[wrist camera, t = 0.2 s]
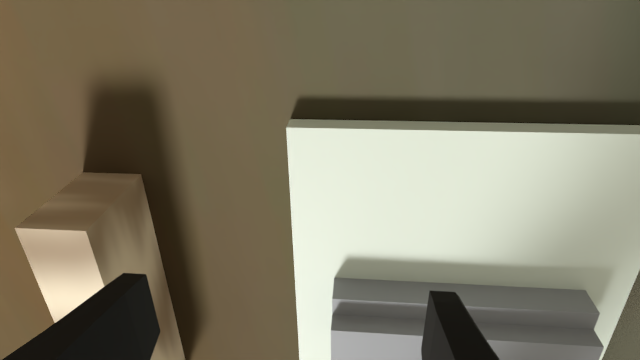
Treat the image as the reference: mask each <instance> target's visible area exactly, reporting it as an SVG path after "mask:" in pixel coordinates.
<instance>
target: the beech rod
mask: <svg viewBox="0 0 640 360" xmlns="http://www.w3.org/2000/svg"><path fill="white" fill-rule="evenodd" d="M15 230H16V232H17V235H18V237H19V239H20V242H21V244H22V246H23V249H24V251H25V254H26V256H27V258H28V261H29V263H30V265H31V268H32V270H33V273H34V275H35V277H36V280H37V282H38V284H39V287H40V289H41V291H42V294H43V296H44V299H45V301H46V303H47V306H48V308H49V310H50V313H51V315H52V318H53V320H54V322H55V323H56V322H57V321H59V320H60V319H61V318H63V317H64V316H65V315H67V314H68V313H70V312H71V311H72V310H74V309H75V308H76V307H78V306H79V305H80V304H82V303H83V302H84V301H86V300H87V299H88V298H90V297H91V296H92V295H94V294H95V293H96V292H98V291H99V290H100V289H102V288H103V287H105V286H106V285H107V284H109V283H110V282H111V281H113V280H114V279H116V278H117V277H119V276H120V275H121V274H123V273H135V274H146V275H147V279H148V283H149V287H150V291H151V295H152V299H153V303H154V307H155V311H156V315H157V319H158V323H159V327H160V331H161V332H160V334H159V337H158V340H157V343H156V345H155V348H154V351H153V354H152V356H151V359H150V360H185V356H184V352H183V348H182V344H181V339H180V335H179V331H178V327H177V323H176V318H175V314H174V310H173V306H172V302H171V298H170V293H169V289H168V285H167V281H166V277H165V272H164V268H163V264H162V260H161V256H160V251H159V247H158V243H157V239H156V235H155V230H154V226H153V222H152V218H151V214H150V210H149V205H148V201H147V197H146V193H145V189H144V184H143V180H142V176H141V174H120V173H85V172H83V173H82V174H80V175H79V176H78V177H77V178H75V179H74V180H73V181H72V182H71V183H69V184H68V185H67V186H66V187H64V188H63V189H62V190H61V191H60V192H58V193H57V194H56V195H55V196H53V197H52V198H51V199H50V200H49V201H47V202H46V203H45V204H44V205H42V206H41V207H40V208H39V209H37V210H36V211H35V212H34V213H33V214H31V215H30V216H29V217H28V218H26V219H25V220H24V221H23V222H22V223H20V224H19V225H18V226H17V227H15Z"/></svg>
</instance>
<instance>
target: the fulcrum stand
mask: <svg viewBox="0 0 640 360" xmlns="http://www.w3.org/2000/svg"><path fill="white" fill-rule="evenodd" d="M286 131H287V148H288V166H289V183H290V201H291V218H292V236H293V253H294V271H295V288H296V306H297V323H298V341H299V358H300V360H422V355H421V346H422V339H423V332H424V325H425V318H426V311H427V304H428V297H429V290H430V291H447V292H456V293H457V295H458V296H459V297H460V299H461V301H462V302H463V304H464V306H465V307H466V309H467V311H468V312H469V314H470V316H471V317H472V319H473V320H474V322H475V324H476V325H477V327H478V328H479V330H480V331H481V333H482V334H483V336H484V337H485V339H486V340H487V342H488V343H489V345H490V346H491V348H492V349H493V351H494V352H495V353H496V355H497V356H498V358H499V359H500V360H602V358H603V355H604V353H605V351H606V348H607V346H608V343H609V341H610V339H611V336H612V334H613V332H614V329H615V327H616V324H617V322H618V320H619V317H620V315H621V313H622V310H623V308H624V305H625V303H626V301H627V298H628V296H629V293H630V291H631V289H632V286H633V284H634V282H635V279H636V277H637V274H638V272H639V270H640V125H599V124H542V123H485V122H428V121H371V120H314V119H290V120H289V123H288V125H287V127H286Z"/></svg>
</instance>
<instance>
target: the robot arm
mask: <svg viewBox="0 0 640 360" xmlns="http://www.w3.org/2000/svg"><path fill="white" fill-rule="evenodd" d="M160 332H161V331H160V327H159V323H158V319H157V315H156V311H155V307H154V303H153V299H152V295H151V291H150V287H149V283H148V279H147V275H146V274H135V273H123V274H121V275H120V276H119V277H117V278H116V279H114V280H113V281H111V282H110V283H109V284H107V285H106V286H105V287H103V288H102V289H100V290H99V291H98V292H96V293H95V294H94V295H92V296H91V297H90V298H88V299H87V300H86V301H84V302H83V303H82V304H80V305H79V306H78V307H76V308H75V309H74V310H72V311H71V312H70V313H68V314H67V315H65V316H64V317H63V318H61V319H60V320H59V321H57V322H56V323H55V324H53V325H52V326H50V327H49V328H48V329H46V330H45V331H43V332H42V333H41V334H39V335H38V336H36V337H35V338H33V339H32V340H30V341H29V342H27V343H26V344H24V345H23V346H22V347H20V348H19V349H17V350H16V351H14V352H13V353H11V354H10V355H8V356H7V357H5V358H4V359H3V360H150V359H151V356H152V354H153V351H154V348H155V345H156V343H157V340H158V337H159V334H160ZM421 355H422V360H500V359H499V358H498V356H497V355H496V353H495V352H494V351H493V349H492V348H491V346H490V345H489V343H488V342H487V340H486V339H485V337H484V336H483V334H482V333H481V331H480V330H479V328H478V327H477V325H476V324H475V322H474V320H473V319H472V317H471V316H470V314H469V312H468V311H467V309H466V307H465V306H464V304H463V302H462V301H461V299H460V297H459V296H458V295H457V293H456V292H447V291H430V290H429V297H428V304H427V311H426V318H425V325H424V332H423V339H422V346H421Z"/></svg>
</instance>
